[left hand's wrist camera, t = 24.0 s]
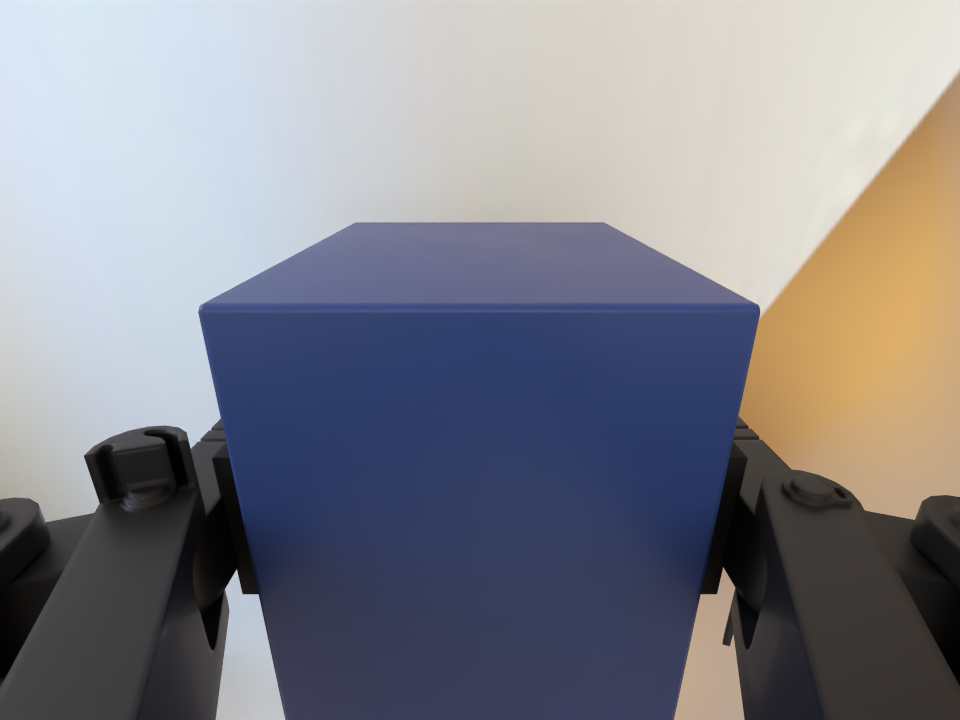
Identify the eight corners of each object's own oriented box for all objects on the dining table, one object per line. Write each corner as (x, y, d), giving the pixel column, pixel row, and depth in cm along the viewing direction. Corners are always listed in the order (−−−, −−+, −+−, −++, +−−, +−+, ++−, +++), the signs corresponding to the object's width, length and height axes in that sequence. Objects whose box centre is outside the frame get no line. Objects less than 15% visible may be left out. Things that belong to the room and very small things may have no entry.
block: (606, 222, 13) (766, 305, 6) (583, 475, 16) (671, 744, 9) (352, 222, 13) (192, 305, 6) (375, 475, 16) (287, 744, 9)
